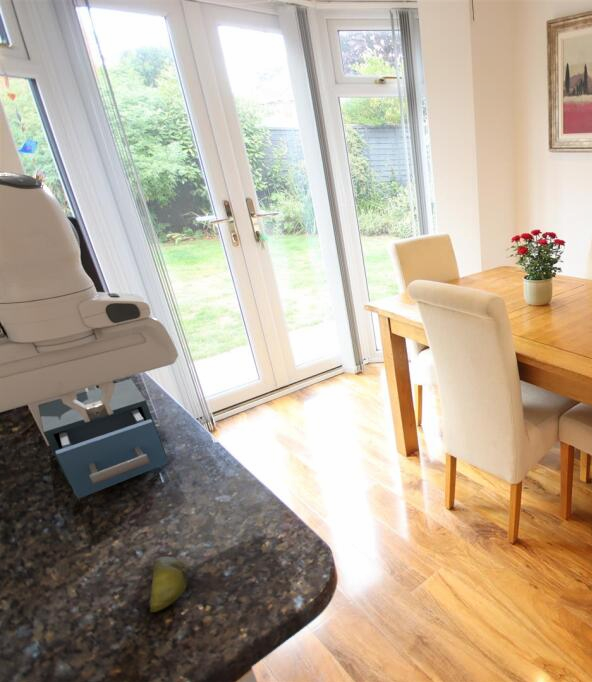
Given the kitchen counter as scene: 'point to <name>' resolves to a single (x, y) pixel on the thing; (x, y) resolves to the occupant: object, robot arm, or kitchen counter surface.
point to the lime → (167, 582)
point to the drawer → (109, 451)
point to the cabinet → (65, 417)
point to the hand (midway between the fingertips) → (99, 416)
